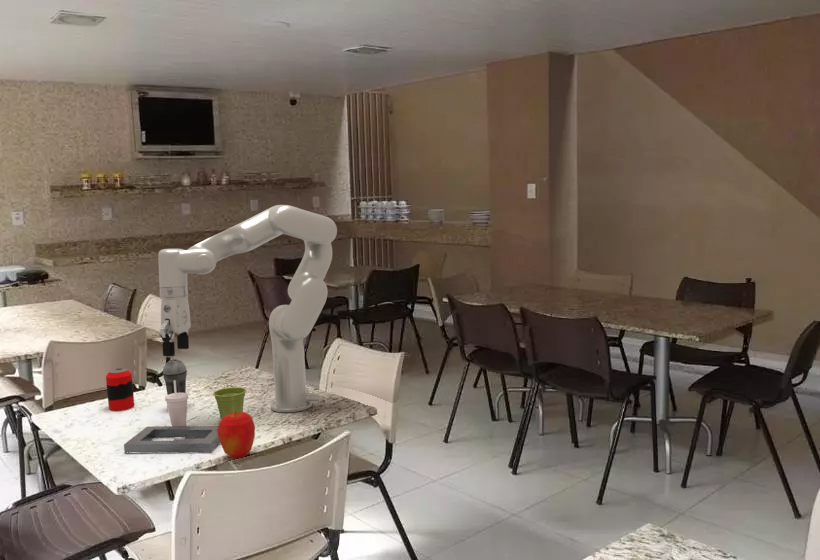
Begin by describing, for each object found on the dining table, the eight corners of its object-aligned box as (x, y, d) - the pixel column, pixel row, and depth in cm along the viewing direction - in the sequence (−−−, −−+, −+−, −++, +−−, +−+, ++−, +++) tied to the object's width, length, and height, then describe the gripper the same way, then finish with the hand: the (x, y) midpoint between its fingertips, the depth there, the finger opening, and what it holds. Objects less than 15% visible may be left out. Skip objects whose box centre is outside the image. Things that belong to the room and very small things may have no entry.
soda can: (135, 402, 231) (131, 366, 230) (133, 409, 224) (130, 372, 223) (109, 405, 229) (106, 369, 227) (107, 412, 222) (104, 374, 220)
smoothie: (184, 423, 208) (180, 376, 207) (195, 428, 204) (191, 380, 202) (163, 429, 204) (159, 381, 202) (173, 434, 199) (169, 385, 198)
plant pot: (210, 419, 211) (208, 391, 210) (240, 413, 216) (238, 385, 215) (222, 427, 203) (220, 397, 202) (253, 420, 209) (251, 391, 208)
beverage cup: (193, 405, 226) (188, 343, 224) (184, 412, 219) (179, 348, 217) (171, 405, 227) (166, 343, 225) (161, 412, 220) (156, 348, 218)
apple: (245, 447, 187) (242, 402, 185) (263, 455, 180) (260, 409, 179) (212, 457, 181) (209, 411, 179) (230, 466, 174) (227, 418, 172)
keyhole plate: (228, 433, 198) (228, 425, 198) (211, 452, 184) (210, 443, 184) (147, 434, 199) (147, 426, 199) (124, 453, 186) (123, 444, 185)
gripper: (173, 296, 193) (176, 359, 195) (198, 289, 210) (200, 346, 212) (147, 296, 194) (149, 358, 195) (173, 288, 211) (176, 346, 213)
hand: (176, 352), depth 204 cm, fingers open, 9 cm apart
